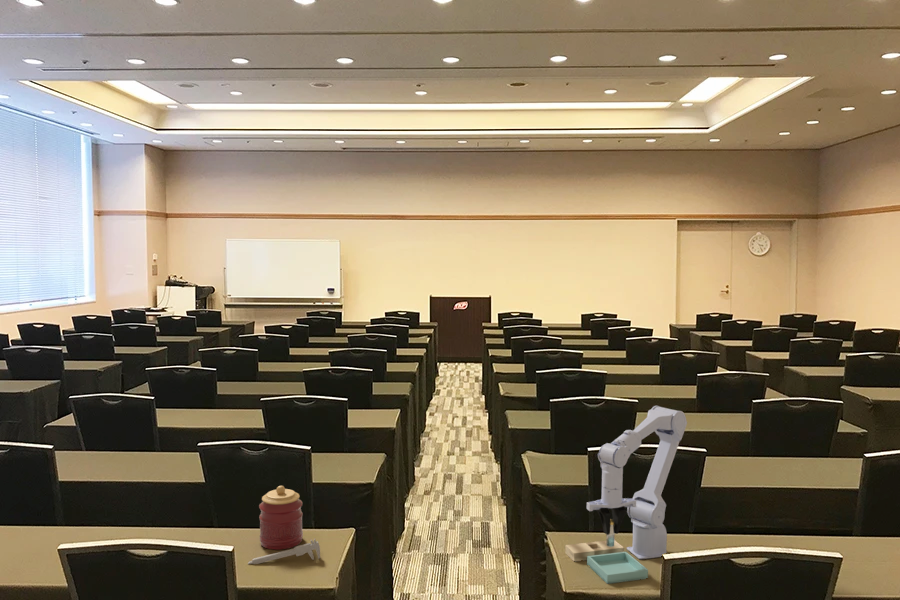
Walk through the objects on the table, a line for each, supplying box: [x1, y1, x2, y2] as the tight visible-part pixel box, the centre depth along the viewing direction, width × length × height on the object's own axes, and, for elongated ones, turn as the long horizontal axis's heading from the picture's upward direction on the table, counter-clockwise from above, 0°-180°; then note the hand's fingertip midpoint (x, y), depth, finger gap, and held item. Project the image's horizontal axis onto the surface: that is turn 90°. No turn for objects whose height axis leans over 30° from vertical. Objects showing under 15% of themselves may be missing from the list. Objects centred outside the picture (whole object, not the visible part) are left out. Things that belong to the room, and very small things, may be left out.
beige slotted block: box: [564, 539, 625, 562], centre depth 222 cm, size 16×6×2 cm, turn 106°
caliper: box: [247, 538, 321, 565], centre depth 217 cm, size 21×1×6 cm, turn 101°
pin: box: [605, 518, 616, 547], centre depth 214 cm, size 2×2×8 cm
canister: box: [258, 485, 304, 550], centre depth 230 cm, size 13×13×18 cm
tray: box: [586, 551, 649, 585], centre depth 211 cm, size 12×12×2 cm
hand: (610, 532), depth 214 cm, fingers closed on pin, 2 cm apart
